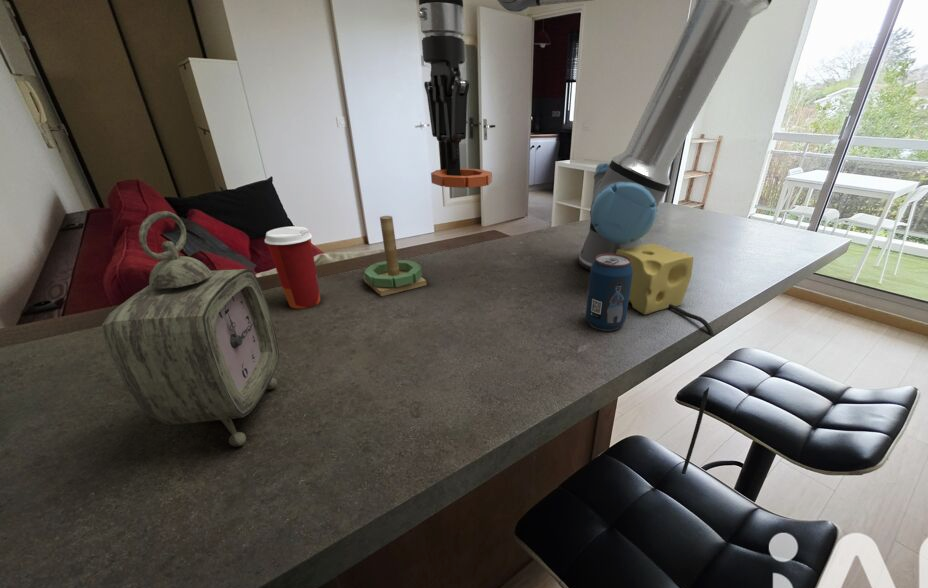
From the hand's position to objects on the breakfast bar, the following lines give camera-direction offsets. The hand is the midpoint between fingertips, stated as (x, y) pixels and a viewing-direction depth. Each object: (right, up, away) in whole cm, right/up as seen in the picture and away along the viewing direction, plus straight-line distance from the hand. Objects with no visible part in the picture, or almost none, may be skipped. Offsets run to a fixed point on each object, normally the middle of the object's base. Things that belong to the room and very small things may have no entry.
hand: (450, 176), depth 84 cm
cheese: (+39, -26, -2) cm, 47 cm away
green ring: (-13, -20, +4) cm, 24 cm away
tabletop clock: (-22, -42, -33) cm, 58 cm away
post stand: (-13, -21, +5) cm, 25 cm away
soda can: (+29, -30, -11) cm, 43 cm away
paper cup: (-28, -26, -4) cm, 38 cm away
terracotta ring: (+3, -2, -3) cm, 5 cm away
